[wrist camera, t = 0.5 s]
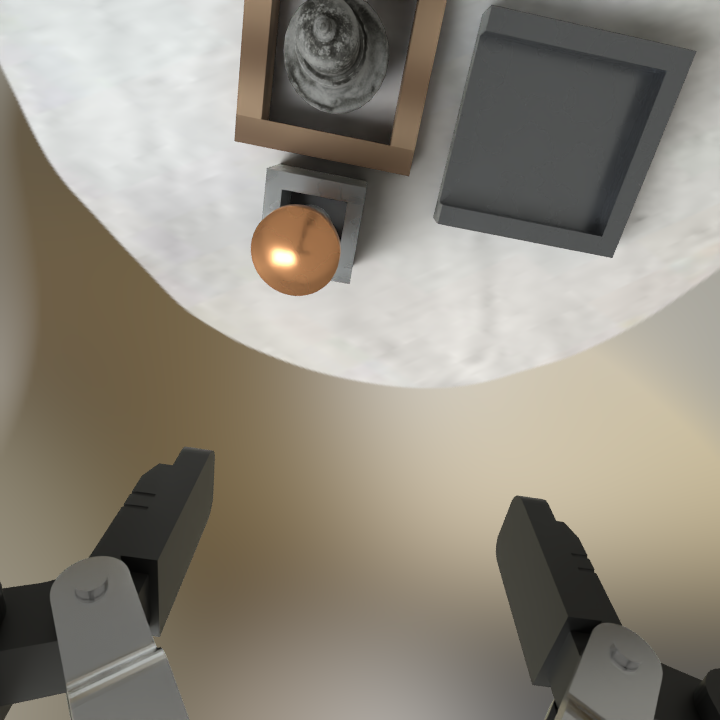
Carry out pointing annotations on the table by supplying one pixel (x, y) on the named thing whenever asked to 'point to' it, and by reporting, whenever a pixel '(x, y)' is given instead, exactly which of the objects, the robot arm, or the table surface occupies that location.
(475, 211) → the tray
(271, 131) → the socket collar
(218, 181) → the table surface
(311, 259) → the copper mushroom knob
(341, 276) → the housing
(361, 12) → the dark grey chess piece
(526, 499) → the robot arm
